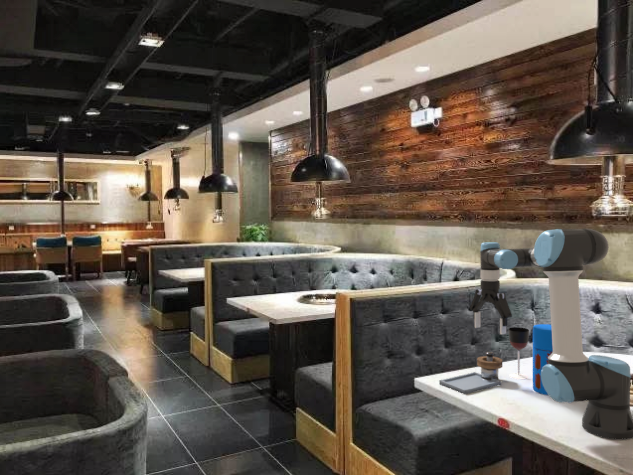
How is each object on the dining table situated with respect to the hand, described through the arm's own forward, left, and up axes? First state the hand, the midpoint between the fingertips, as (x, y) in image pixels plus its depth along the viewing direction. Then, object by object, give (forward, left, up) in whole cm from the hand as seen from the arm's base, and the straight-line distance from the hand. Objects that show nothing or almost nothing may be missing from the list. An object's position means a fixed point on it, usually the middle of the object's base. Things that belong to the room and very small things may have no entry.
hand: (490, 330), depth 217 cm
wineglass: (+7, -12, -21) cm, 25 cm away
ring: (0, 0, -15) cm, 15 cm away
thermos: (-9, -21, -21) cm, 31 cm away
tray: (-8, +8, -21) cm, 24 cm away
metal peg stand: (0, 0, -21) cm, 21 cm away
